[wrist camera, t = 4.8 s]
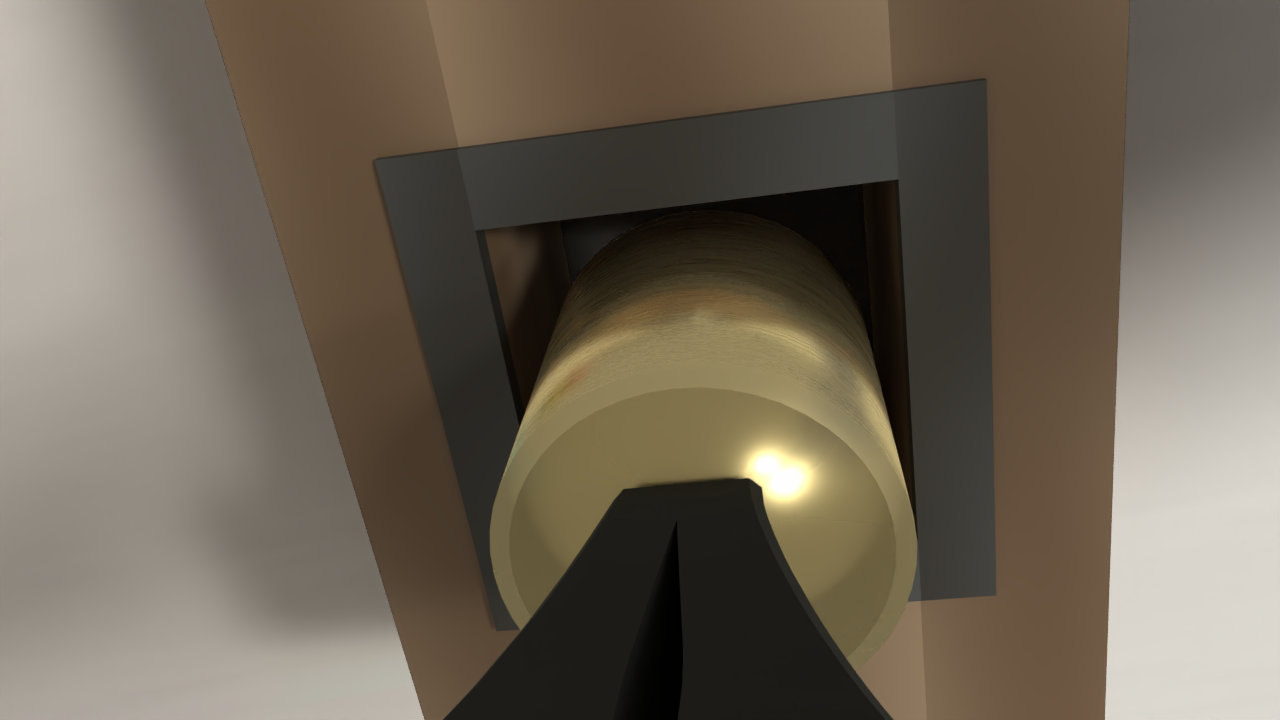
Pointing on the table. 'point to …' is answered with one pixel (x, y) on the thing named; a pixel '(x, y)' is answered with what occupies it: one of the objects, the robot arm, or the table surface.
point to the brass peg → (715, 415)
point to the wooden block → (699, 173)
